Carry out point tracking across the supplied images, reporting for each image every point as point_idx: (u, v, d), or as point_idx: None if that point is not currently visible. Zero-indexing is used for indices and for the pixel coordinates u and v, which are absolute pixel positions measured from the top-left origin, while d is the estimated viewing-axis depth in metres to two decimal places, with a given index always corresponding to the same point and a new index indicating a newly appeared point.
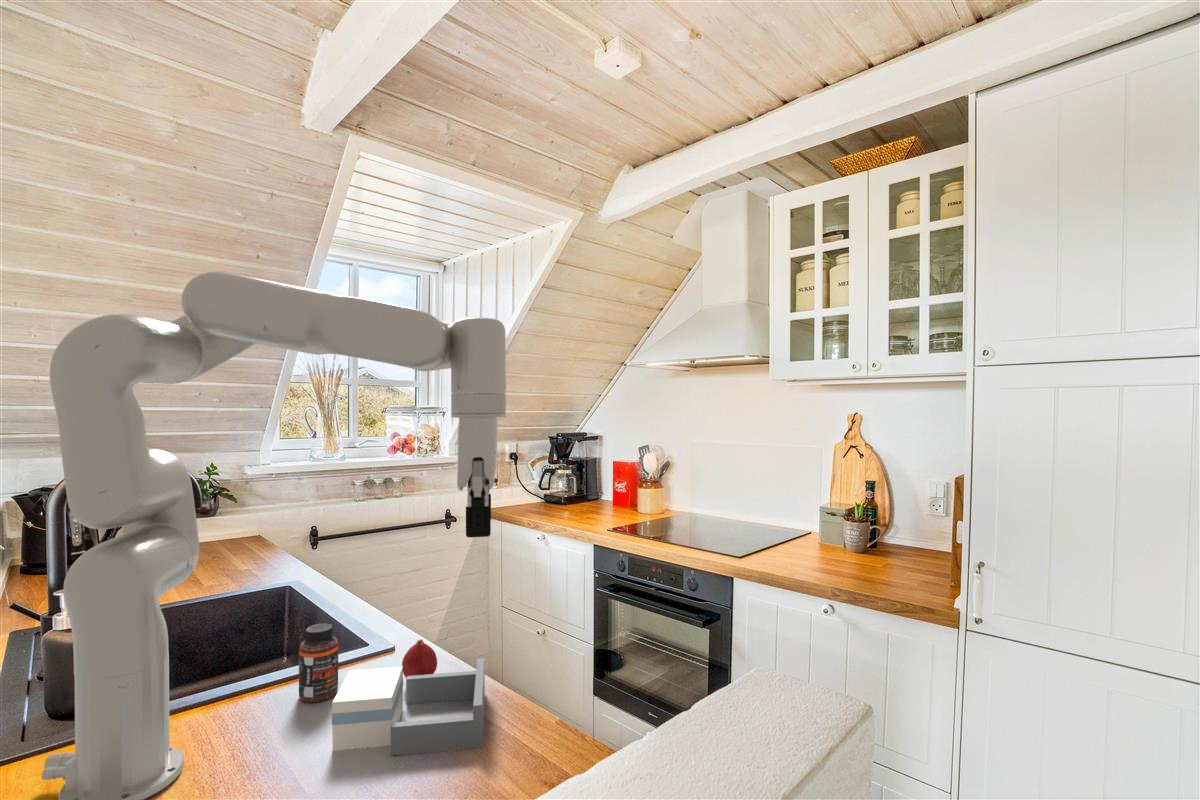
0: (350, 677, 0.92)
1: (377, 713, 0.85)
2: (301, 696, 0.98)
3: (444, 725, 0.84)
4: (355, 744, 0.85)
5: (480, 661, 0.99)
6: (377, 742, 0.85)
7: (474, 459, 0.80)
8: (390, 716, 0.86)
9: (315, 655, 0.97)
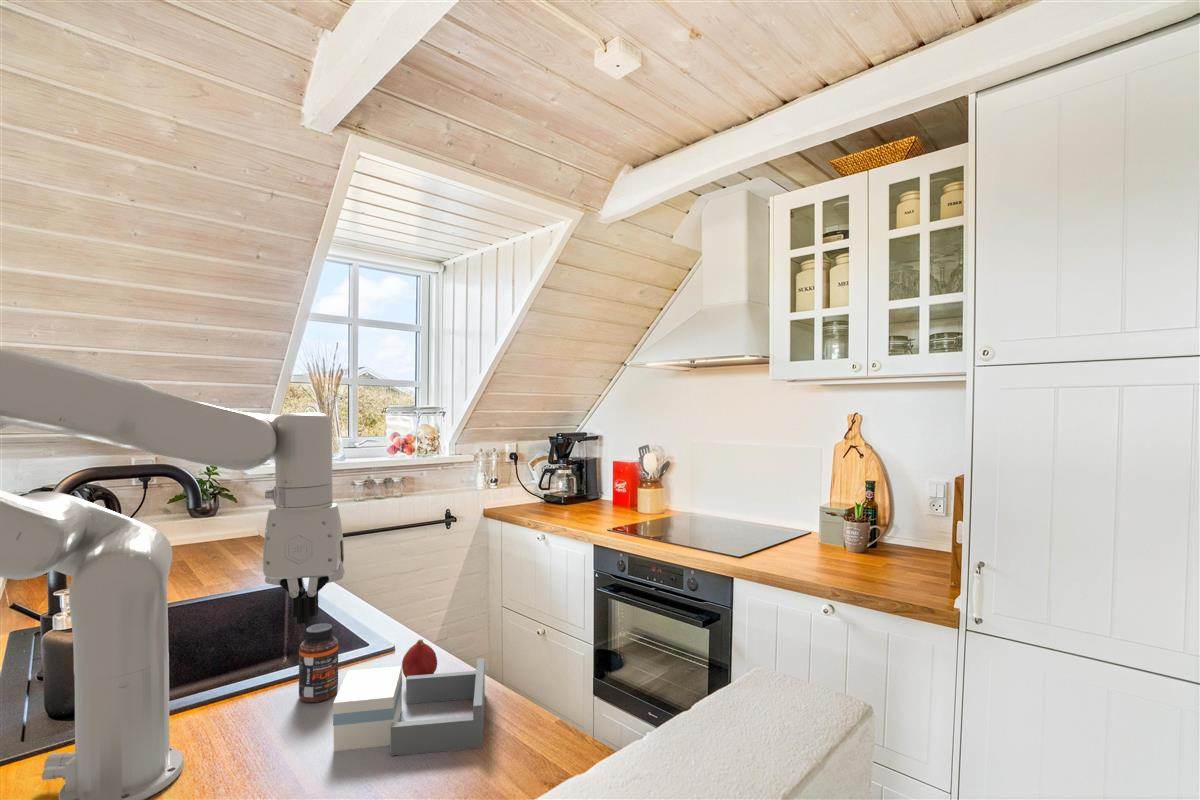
0: (349, 678, 0.92)
1: (379, 713, 0.86)
2: (301, 696, 0.98)
3: (444, 725, 0.84)
4: (356, 744, 0.85)
5: (480, 661, 0.99)
6: (378, 742, 0.86)
7: None
8: (391, 715, 0.86)
9: (315, 655, 0.97)
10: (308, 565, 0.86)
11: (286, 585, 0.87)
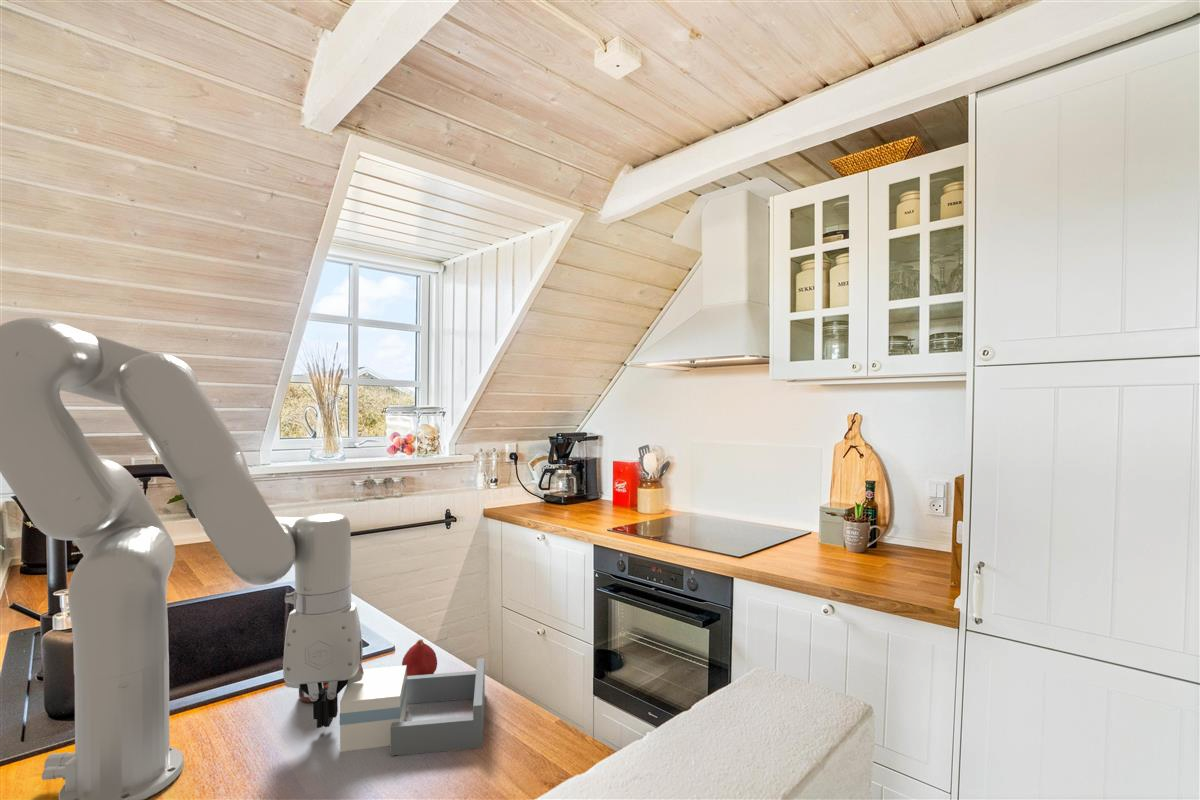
0: None
1: (385, 712, 0.86)
2: (301, 696, 0.98)
3: (444, 725, 0.84)
4: (363, 743, 0.85)
5: (480, 661, 0.99)
6: (385, 741, 0.86)
7: None
8: (398, 714, 0.86)
9: None
10: (328, 670, 0.86)
11: (306, 688, 0.88)
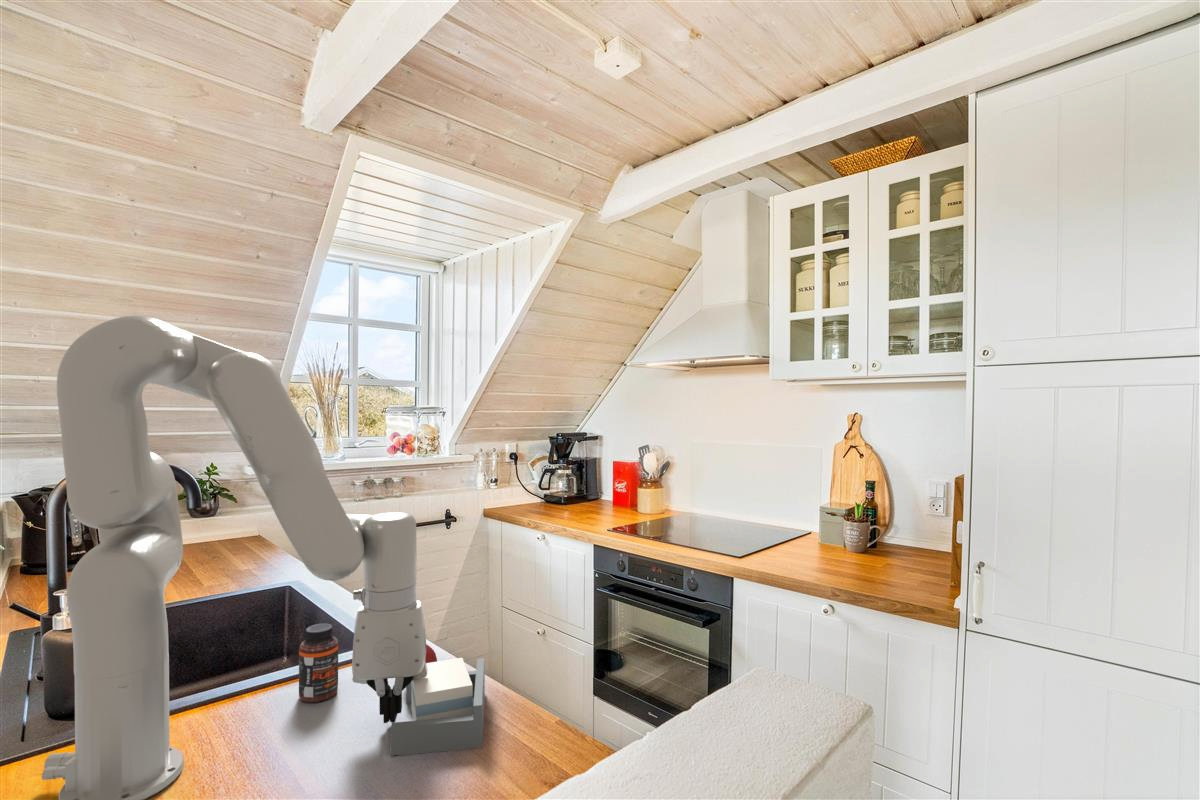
0: None
1: (459, 701, 0.88)
2: (301, 696, 0.98)
3: (444, 725, 0.84)
4: None
5: (480, 661, 0.99)
6: None
7: None
8: (471, 703, 0.89)
9: (315, 655, 0.97)
10: (396, 666, 0.88)
11: (373, 684, 0.89)
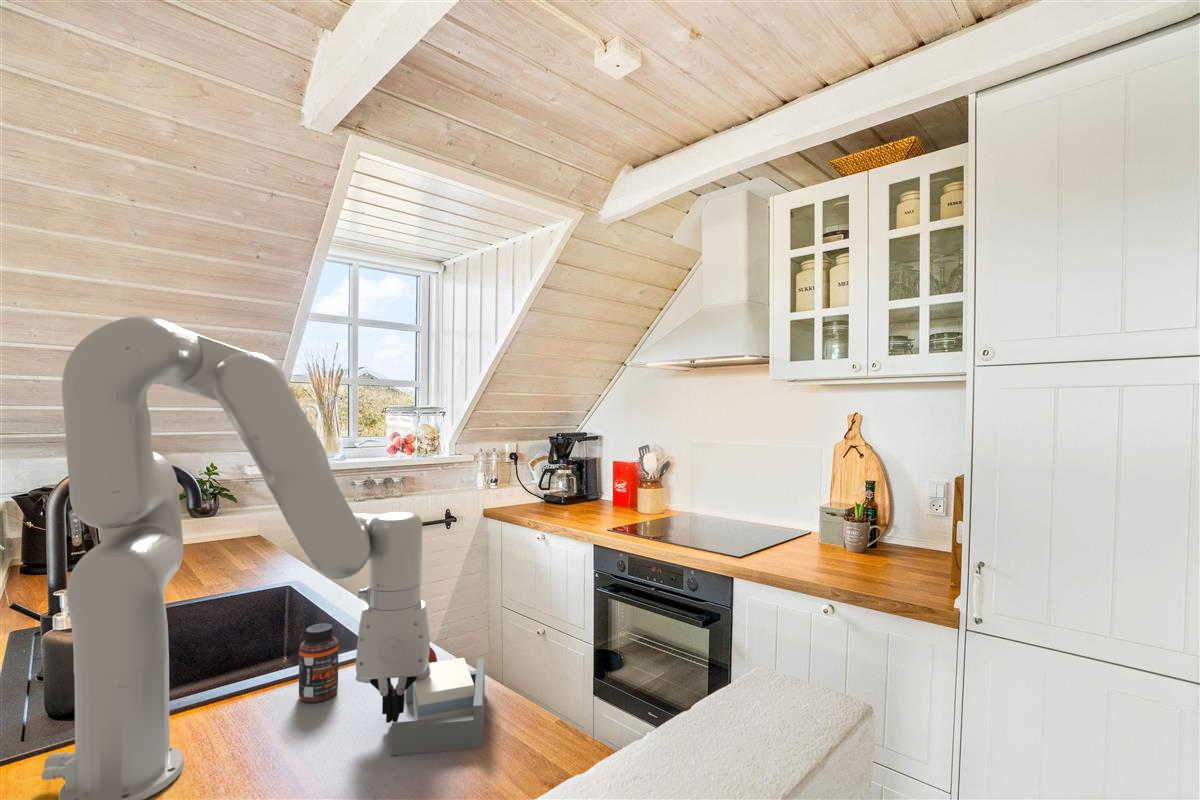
0: None
1: (461, 701, 0.89)
2: (301, 696, 0.98)
3: (444, 725, 0.84)
4: None
5: (480, 661, 0.99)
6: None
7: None
8: None
9: (315, 655, 0.97)
10: (400, 666, 0.88)
11: (376, 683, 0.89)
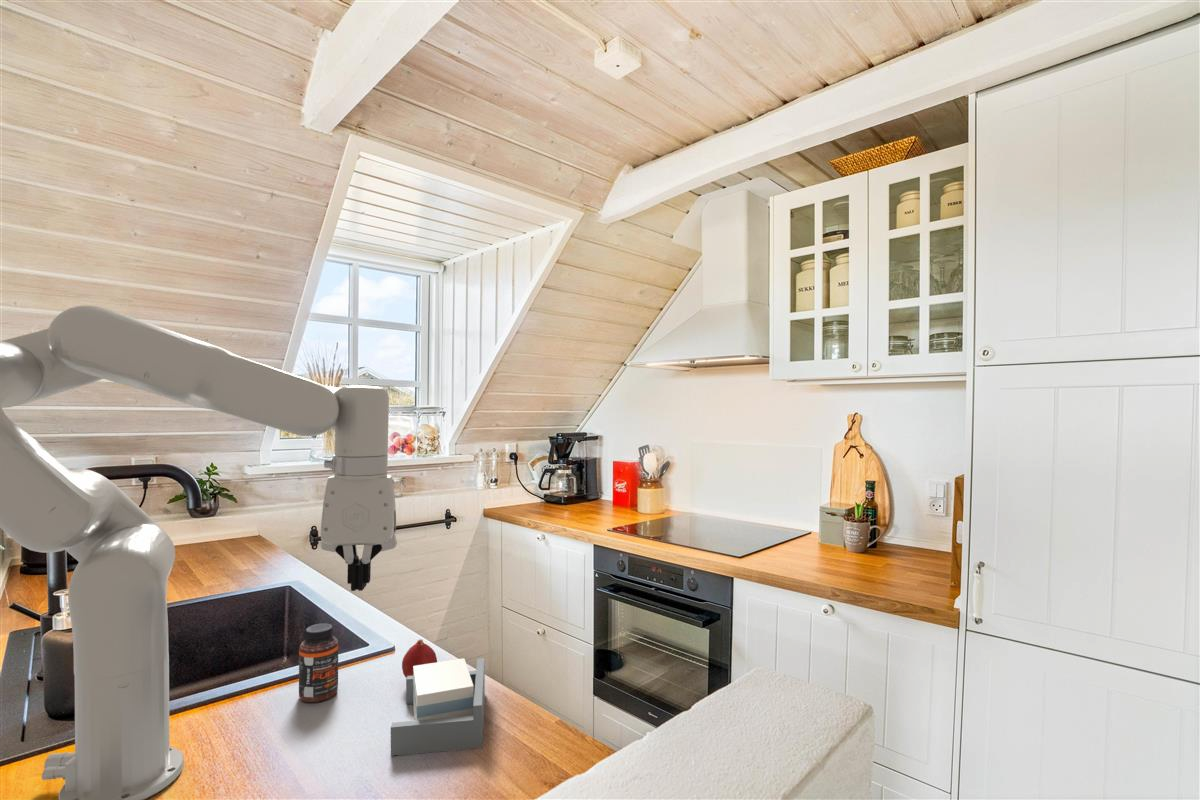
0: (419, 672, 0.93)
1: (460, 702, 0.88)
2: (301, 696, 0.98)
3: (444, 725, 0.84)
4: None
5: (480, 661, 0.99)
6: None
7: None
8: (472, 704, 0.89)
9: (315, 655, 0.97)
10: (364, 532, 0.89)
11: (341, 552, 0.90)
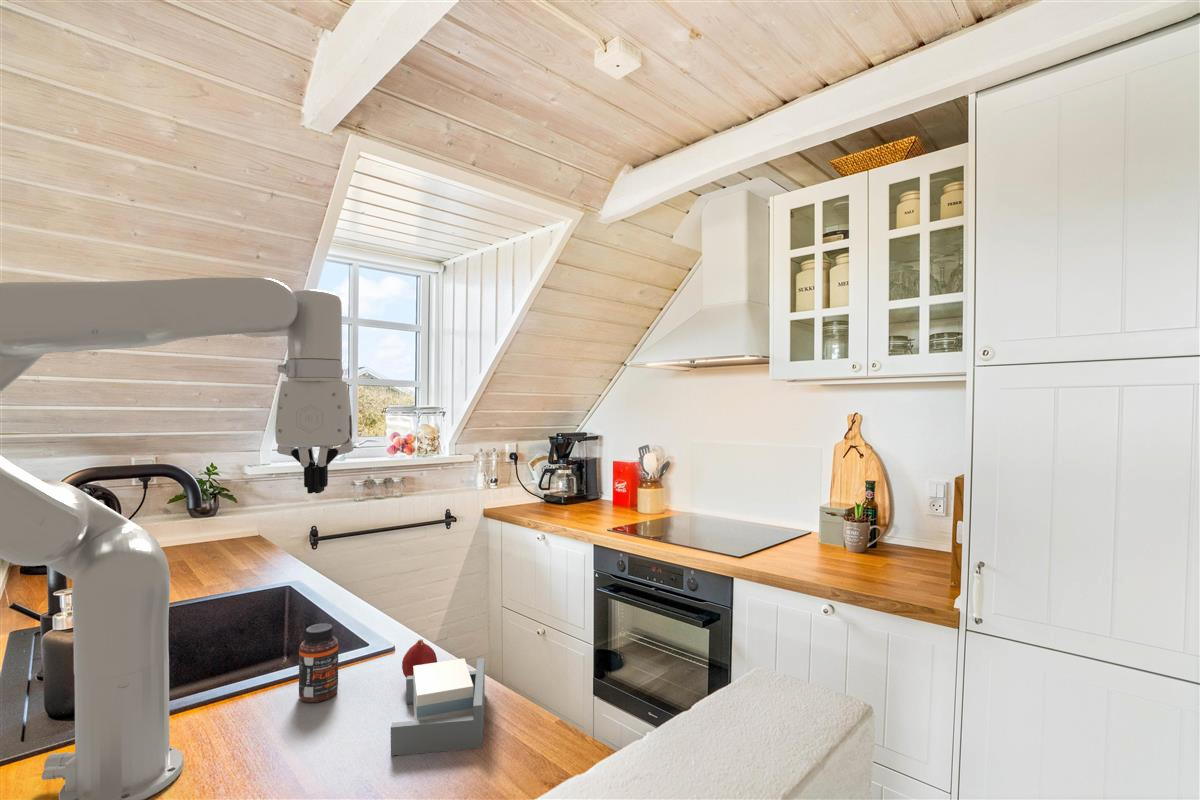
0: (419, 672, 0.93)
1: (460, 702, 0.88)
2: (301, 696, 0.98)
3: (444, 725, 0.84)
4: None
5: (480, 661, 0.99)
6: None
7: None
8: (472, 704, 0.89)
9: (315, 655, 0.97)
10: (318, 434, 0.90)
11: (297, 455, 0.91)
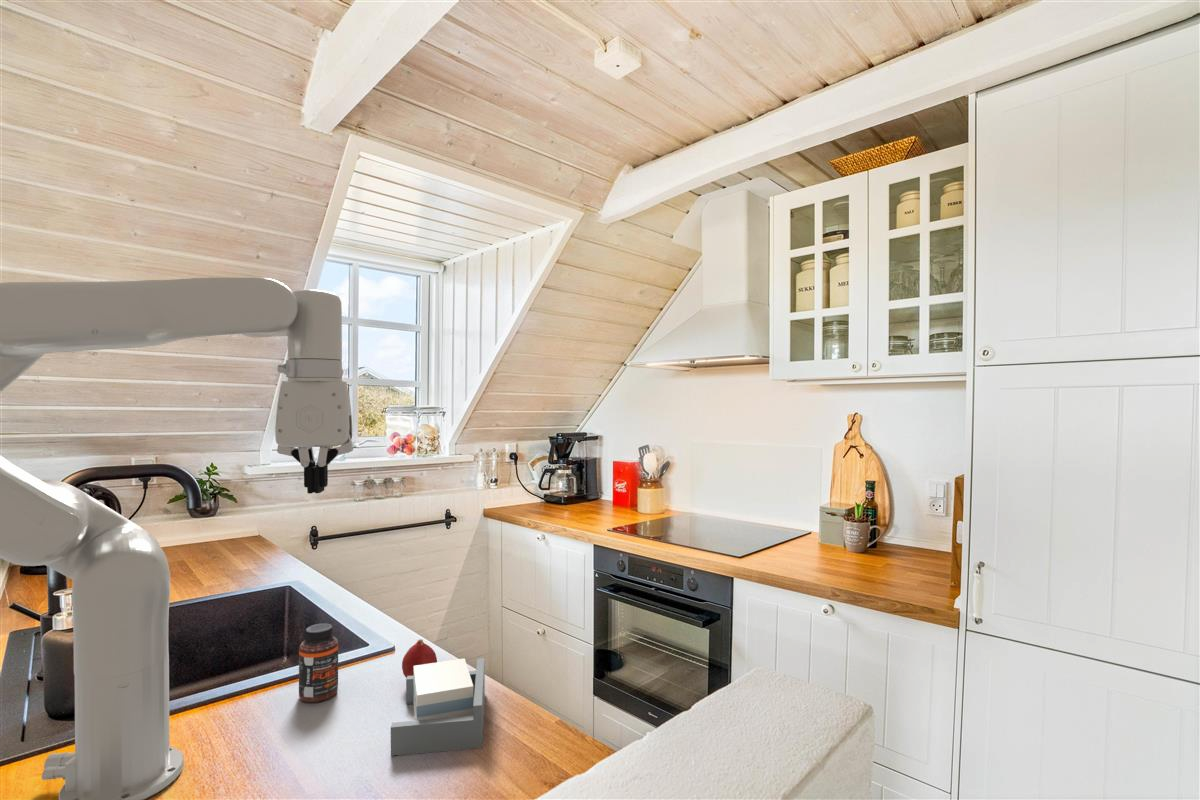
0: (419, 672, 0.94)
1: (460, 702, 0.88)
2: (301, 696, 0.98)
3: (444, 725, 0.84)
4: None
5: (480, 661, 0.99)
6: None
7: None
8: (472, 704, 0.89)
9: (315, 655, 0.97)
10: (318, 434, 0.90)
11: (297, 455, 0.91)
